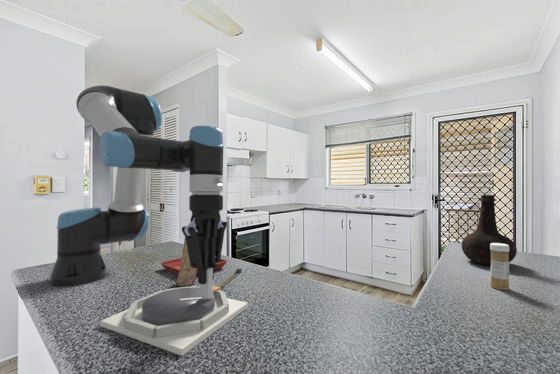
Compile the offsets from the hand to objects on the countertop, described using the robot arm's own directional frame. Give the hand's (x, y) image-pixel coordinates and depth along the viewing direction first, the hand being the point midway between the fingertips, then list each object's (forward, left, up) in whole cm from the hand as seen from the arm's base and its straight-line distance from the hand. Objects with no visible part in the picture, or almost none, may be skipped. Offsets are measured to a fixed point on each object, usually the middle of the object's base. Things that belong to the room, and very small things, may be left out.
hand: (205, 296), depth 61 cm
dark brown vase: (+71, +87, -6) cm, 112 cm away
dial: (-7, -1, -4) cm, 8 cm away
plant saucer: (-31, +29, -6) cm, 43 cm away
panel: (-7, -1, -5) cm, 9 cm away
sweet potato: (-22, +16, -6) cm, 28 cm away
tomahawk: (-10, +25, -6) cm, 27 cm away
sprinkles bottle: (+67, +55, -6) cm, 87 cm away
